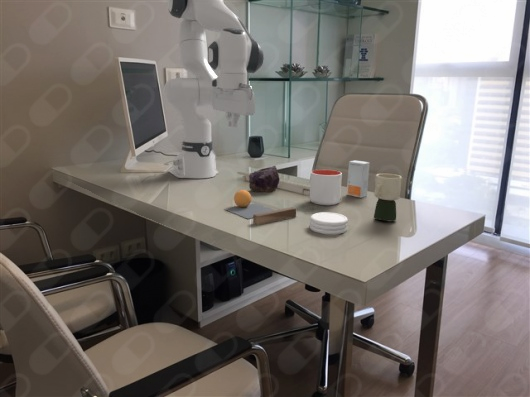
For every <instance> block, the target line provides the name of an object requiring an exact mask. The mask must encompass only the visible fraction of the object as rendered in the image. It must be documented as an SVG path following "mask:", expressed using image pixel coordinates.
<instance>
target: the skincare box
mask: <svg viewBox="0 0 530 397" xmlns="http://www.w3.org/2000/svg"><path fill="white" fill-rule="evenodd" d="M370 164H371V163H370V162H368V161H362V160H350V161H348V169H347V170H348V172H347V183H346V186H347V187H346V196H347V195H348V196H353V197H356V198H360V199H361V198H365V197H367V195H368V190H369V189H368V187H369V176H370V175H369V174H370Z"/></svg>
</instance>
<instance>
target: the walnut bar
mask: <svg viewBox="0 0 530 397" xmlns="http://www.w3.org/2000/svg"><path fill="white" fill-rule="evenodd" d="M296 217H297V208H296V207H294V206H289V207H284V208H279V209H274V211H269V212H264V213H259V214H254V215H253V218H252V219H253V220H252V223H253V225H256V226H260V225H259V224H261V225H264V223H265V224H270V223H273V222H274V223H275V222H278V221H282V220H287V219H291V218H296ZM269 222H270V223H269Z"/></svg>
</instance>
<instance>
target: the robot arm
mask: <svg viewBox="0 0 530 397" xmlns="http://www.w3.org/2000/svg"><path fill="white" fill-rule="evenodd" d="M167 9H168V12H169V14H170V15H171V16H172V17H174V18H177V19H183V20H181V22H180V24H179V29H178V30H179V32H178V48H179V49H178V50H179V61H180V64H181V66H182V68H183V69H184V70H185V71H187V72H189V73H191V74H192V75H193V76H194V77H177V78H171V79H168V80H167V81H166V83H165V84H164V86H163V93H162V94H163V96H164V99H165V101H166V102H167V104H169V106H171V107H172V108H174V110H176V112H177V113H178V115H179V116H180V119H181V122H182V127H183V129H182V130H183V141H182V142H181V151H180V152H179V153H178V154H177V156H176V157H175V158H174V159H173V161H172V164H173V166H174V168H170V169H168V173H170V174H172V175H173V176H175V177H176V178H179V179H208V178H214V177H215V176H217V175H218V174H219V170H217V167H216V166H217V164H216V155H215V154H214V153H213V147H214V144H213V141H212V123H211V121H210V119H208V118H207V117H206V116H204V115H201V114H199V113H198V112H197V107H207V108H208V107H209V108H210V107H212V110H215V111H220V112H225V117H226V120H227V126H228V127H231V128H237V127H238V121H239V119H240V117H241V115H242V116H254V115H255V112H256V101H255V100H256V99H255V93H254V89H253V88H252V85H250V84H249V83H248V74H254V73H256V72H257V71H259V69H261V67H262V66H263V64H264V59H265V58H264V51H263V49H262V47H261V46H260V44H259V43H258V42H257V41H255V39H254V38H253V37H252V35H251V33H250V32H249V30H248V28H247V27H246V25H245V23H244V22H243V21H242V19H241V18H240V17H239V16H238V15H237V14H236V13H235V12H233V11H232V10H231V9H230V8H228V6H227V5H226V4H225V0H167ZM206 30H207V31H211V32H215V33H220V37H219V38H218V39H217V40H215V41H213V42H212V43H210V44H209V46H208V43H207V42H208V40H207V36H206ZM215 71H218V75H217V74H216V72H215Z"/></svg>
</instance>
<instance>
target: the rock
mask: <svg viewBox="0 0 530 397" xmlns="http://www.w3.org/2000/svg"><path fill="white" fill-rule="evenodd" d="M248 180H249V182H248V183H249V185H248V186H249V189H250V191H253V192H255V193H256V192H258V193H259V192H267V193H268V192H273V191H274V190H276V189H278V187H279V183H280V175H279V172H278V169H277V166H276V165H272V166H268V167H265V168H260V169H259V170H257V171H254V172H252V173H250V174H249V176H248Z"/></svg>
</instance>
